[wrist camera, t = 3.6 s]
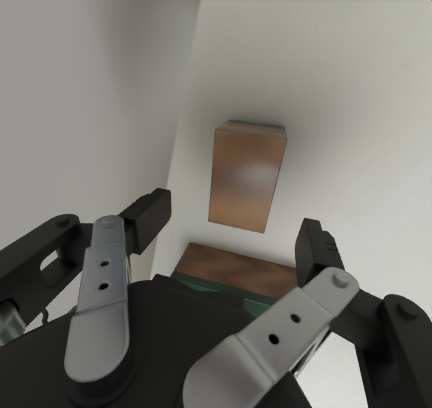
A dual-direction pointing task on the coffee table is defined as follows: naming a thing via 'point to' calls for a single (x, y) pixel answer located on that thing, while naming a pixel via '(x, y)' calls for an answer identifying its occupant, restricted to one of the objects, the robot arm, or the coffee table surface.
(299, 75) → the coffee table surface
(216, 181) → the eraser
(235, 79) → the coffee table surface
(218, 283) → the chalkboard
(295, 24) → the coffee table surface
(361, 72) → the coffee table surface
